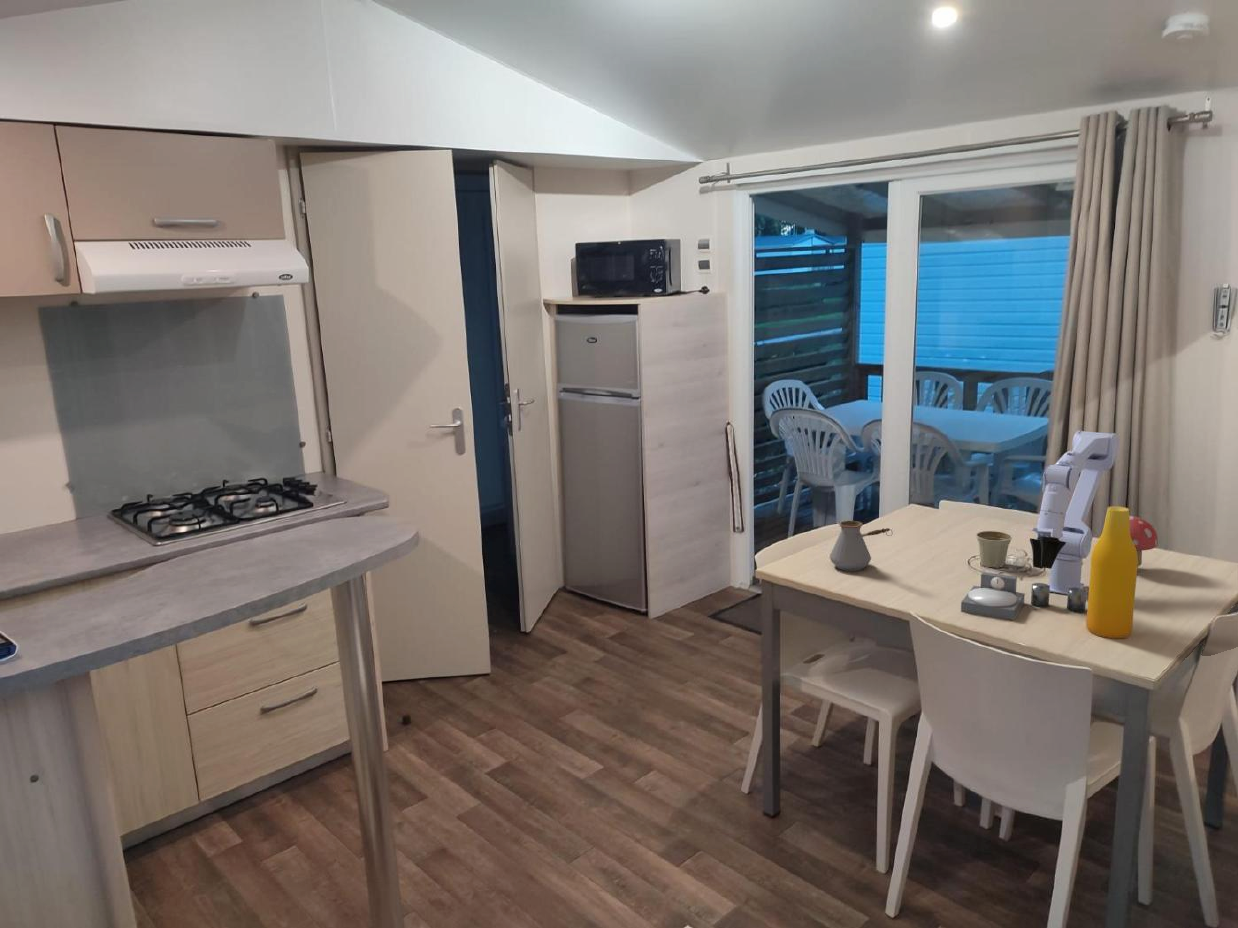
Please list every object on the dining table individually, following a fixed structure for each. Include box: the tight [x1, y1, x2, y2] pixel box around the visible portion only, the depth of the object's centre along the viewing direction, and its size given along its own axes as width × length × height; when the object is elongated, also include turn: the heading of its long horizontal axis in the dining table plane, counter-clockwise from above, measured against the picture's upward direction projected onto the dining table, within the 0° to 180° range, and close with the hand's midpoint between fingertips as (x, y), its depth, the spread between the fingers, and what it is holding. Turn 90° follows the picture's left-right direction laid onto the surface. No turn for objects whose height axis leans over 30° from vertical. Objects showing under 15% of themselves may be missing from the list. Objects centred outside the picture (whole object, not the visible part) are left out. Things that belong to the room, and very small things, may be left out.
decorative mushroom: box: [1129, 515, 1159, 568], centre depth 237 cm, size 13×13×15 cm
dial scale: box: [960, 571, 1025, 621], centre depth 216 cm, size 13×12×6 cm
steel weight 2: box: [1066, 588, 1088, 614], centre depth 212 cm, size 4×4×5 cm
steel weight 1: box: [1030, 582, 1051, 609], centre depth 216 cm, size 4×4×5 cm
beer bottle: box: [1085, 505, 1139, 639], centre depth 197 cm, size 9×9×29 cm
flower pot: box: [975, 530, 1013, 569], centre depth 246 cm, size 9×9×9 cm
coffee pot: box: [829, 520, 894, 572], centre depth 245 cm, size 21×12×15 cm, turn 27°
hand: (1041, 567), depth 213 cm, fingers open, 7 cm apart
